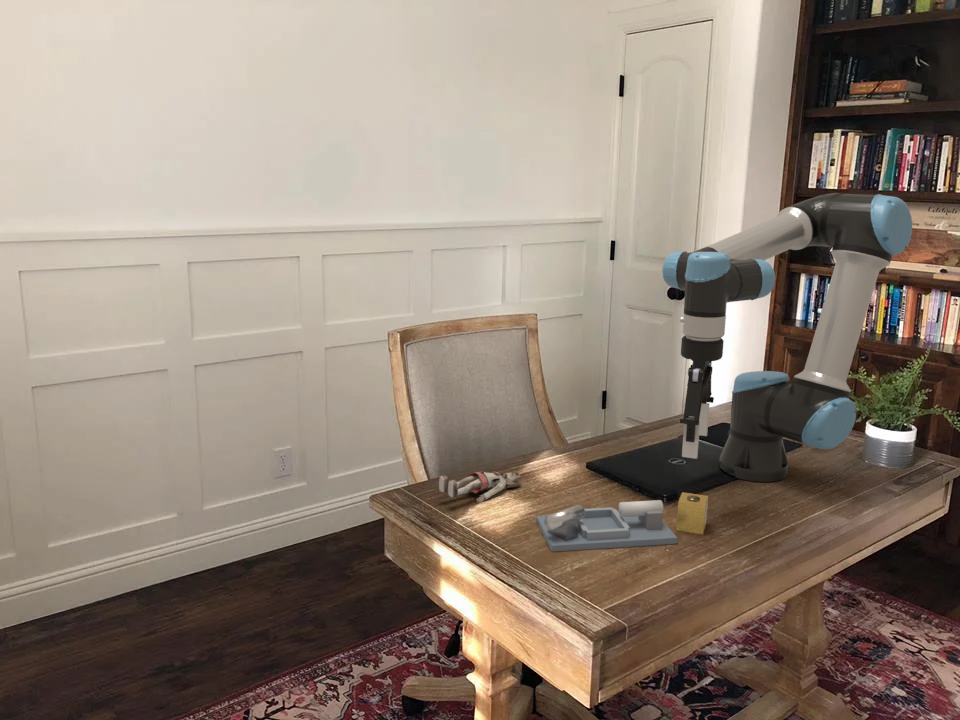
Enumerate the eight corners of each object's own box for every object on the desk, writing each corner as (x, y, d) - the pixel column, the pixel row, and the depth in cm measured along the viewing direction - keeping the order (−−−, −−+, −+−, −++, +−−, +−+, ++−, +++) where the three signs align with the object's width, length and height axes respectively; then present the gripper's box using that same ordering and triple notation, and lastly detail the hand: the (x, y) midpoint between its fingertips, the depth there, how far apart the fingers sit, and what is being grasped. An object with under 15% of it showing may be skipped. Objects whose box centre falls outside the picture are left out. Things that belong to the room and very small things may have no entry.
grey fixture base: (652, 514, 169) (654, 487, 167) (676, 543, 156) (678, 514, 155) (536, 521, 165) (537, 493, 164) (551, 551, 153) (552, 521, 151)
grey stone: (570, 523, 162) (571, 501, 160) (588, 532, 158) (589, 509, 157) (539, 534, 157) (540, 511, 156) (558, 544, 153) (558, 520, 152)
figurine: (437, 472, 173) (510, 461, 185) (435, 499, 174) (508, 486, 186) (455, 481, 168) (529, 469, 181) (452, 508, 169) (526, 495, 182)
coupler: (706, 524, 165) (708, 495, 163) (702, 534, 160) (705, 504, 159) (680, 520, 166) (682, 491, 165) (676, 530, 162) (678, 500, 160)
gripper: (691, 322, 167) (685, 424, 172) (670, 349, 144) (663, 464, 149) (730, 325, 164) (722, 428, 169) (715, 353, 142) (706, 470, 147)
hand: (694, 445), depth 159 cm, fingers open, 13 cm apart
